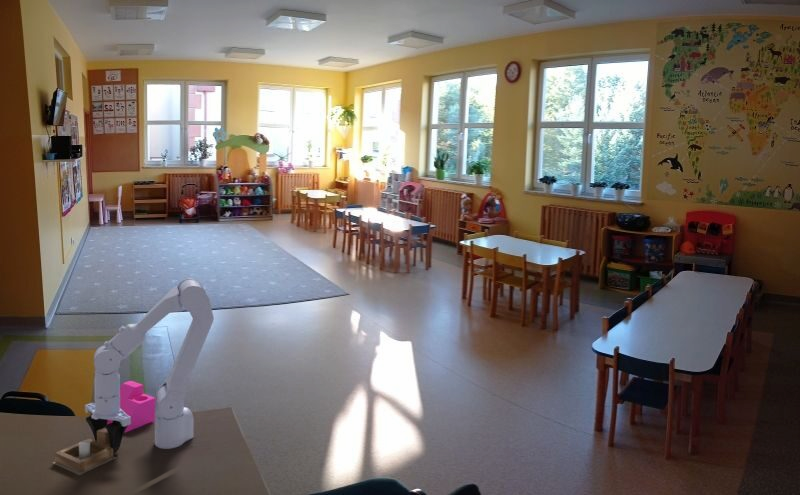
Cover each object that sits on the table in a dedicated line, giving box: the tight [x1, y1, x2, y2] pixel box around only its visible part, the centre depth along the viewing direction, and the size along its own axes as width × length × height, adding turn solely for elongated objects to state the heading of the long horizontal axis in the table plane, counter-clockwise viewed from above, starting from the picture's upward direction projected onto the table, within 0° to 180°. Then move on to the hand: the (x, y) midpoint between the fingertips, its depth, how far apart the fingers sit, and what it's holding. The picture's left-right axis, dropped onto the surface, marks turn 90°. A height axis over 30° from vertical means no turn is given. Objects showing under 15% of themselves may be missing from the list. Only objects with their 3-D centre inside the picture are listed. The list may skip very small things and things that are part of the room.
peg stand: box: [52, 440, 117, 476], centre depth 153 cm, size 10×10×6 cm
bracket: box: [107, 380, 156, 434], centre depth 174 cm, size 12×10×10 cm
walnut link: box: [54, 427, 119, 473], centre depth 155 cm, size 13×9×6 cm
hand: (107, 445), depth 159 cm, fingers open, 5 cm apart
